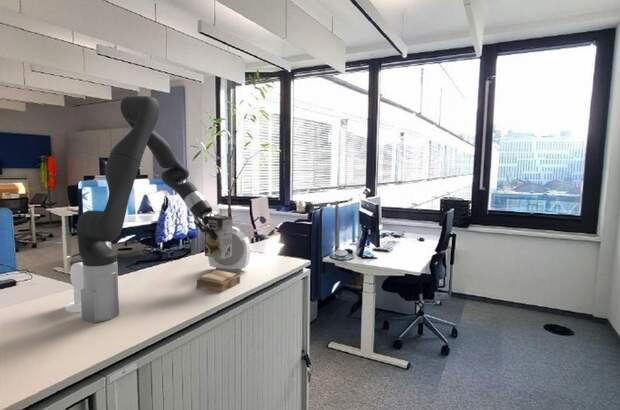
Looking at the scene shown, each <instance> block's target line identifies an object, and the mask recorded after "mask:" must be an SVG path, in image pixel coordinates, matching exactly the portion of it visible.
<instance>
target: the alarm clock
mask: <svg viewBox="0 0 620 410" xmlns="http://www.w3.org/2000/svg"><path fill="white" fill-rule="evenodd" d="M250 255H251V241H250V239H249V236H246V234H245V233H244V232H243V231H242V230H240V228H238V227H237V226H233V225H232V256H231V257H228V258H225V259H217V258H213V257H208V256H207V258H208V262H209V263H208V264H209V267H213V268H215V270H219V271H225V272H231V273H236V274H239V273H240V272H241V271H242V270H243V269H245V268H247V267H248V265H249V262H250Z"/></svg>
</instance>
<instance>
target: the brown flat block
mask: <svg viewBox="0 0 620 410" xmlns="http://www.w3.org/2000/svg"><path fill="white" fill-rule="evenodd" d="M238 283H239V284H240V283H241V276H240V275H238V273H234V272H225V271H219V270H216V269H215V270H212V271H211V272H208V273H205V274H202V275H201V276H199V278H198V279H196V288H199V289H205V290H210V291H215V292H219V293H223V292H225V291H226V290H228V289H231V288H233V287H235V286H236V284H237V285H239V284H238Z"/></svg>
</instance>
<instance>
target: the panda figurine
mask: <svg viewBox="0 0 620 410" xmlns="http://www.w3.org/2000/svg"><path fill="white" fill-rule="evenodd" d="M69 265H70V266H71V267H70V273H69V275H70V277H69V278H70V281H71V284H72V286H73V301H71V302H69V303H68V304H66V306H65V307H64V310H65V311H66V312H67V313H76V314H77V313H82V308H81V289H83V288H84V280H83V260H82V258H78V259H74V260H73V259H72V260H70V262H69Z"/></svg>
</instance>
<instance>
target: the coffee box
mask: <svg viewBox="0 0 620 410" xmlns="http://www.w3.org/2000/svg"><path fill="white" fill-rule="evenodd" d="M205 219H206V221H207V222H206V224H205V225H207V224H208V221H209V223H210V226H211V227H212V229H211V230H213V231H214V232H215V233H216V235H217V236H218V238H217V239H216V240H213V239H212V238H211V237H210V235H209V234H208V233H206V232H204V256H205V257H207V258H208V257H213V258H217V259H225V258H228V257H231V256H232V226H233V216H228V215H221V214H220V215H217V214H215V215H209V216H205Z"/></svg>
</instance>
